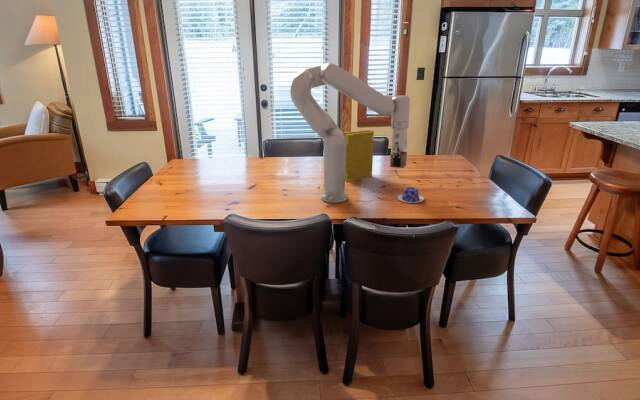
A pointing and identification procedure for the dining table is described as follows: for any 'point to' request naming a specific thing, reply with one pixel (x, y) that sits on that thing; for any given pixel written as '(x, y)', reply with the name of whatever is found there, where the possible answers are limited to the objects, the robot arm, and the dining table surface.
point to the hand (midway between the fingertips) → (398, 163)
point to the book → (358, 154)
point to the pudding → (410, 195)
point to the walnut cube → (403, 159)
